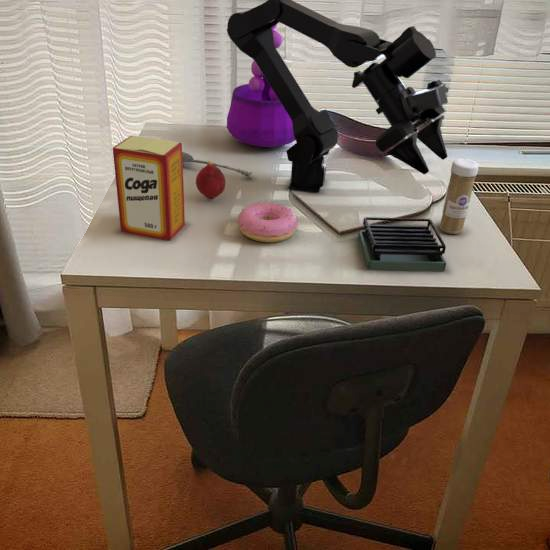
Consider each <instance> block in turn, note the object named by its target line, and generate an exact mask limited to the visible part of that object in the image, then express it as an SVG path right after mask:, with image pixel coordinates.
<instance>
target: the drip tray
mask: <svg viewBox="0 0 550 550" xmlns="http://www.w3.org/2000/svg"><path fill="white" fill-rule="evenodd" d="M357 240H358V243H359V246H360V249H361V252H362V253H361V254H362V256H363V259H364V262H365V266H366V268H367V270H368V271H369V270H370V271H412V272H413V271H416V272H417V271H418V272H446V267H447V261H446V260H445V258H444V256H443V255H442V256H438V258H437V262H430V261H429V259H428V257H427V255H388V254H381V257H380V261H374V259H373V256H372V253H371V250H370V247H369V244H368V241H367V233H366V231H365V230H360V229H359V230H358V233H357Z"/></svg>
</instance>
